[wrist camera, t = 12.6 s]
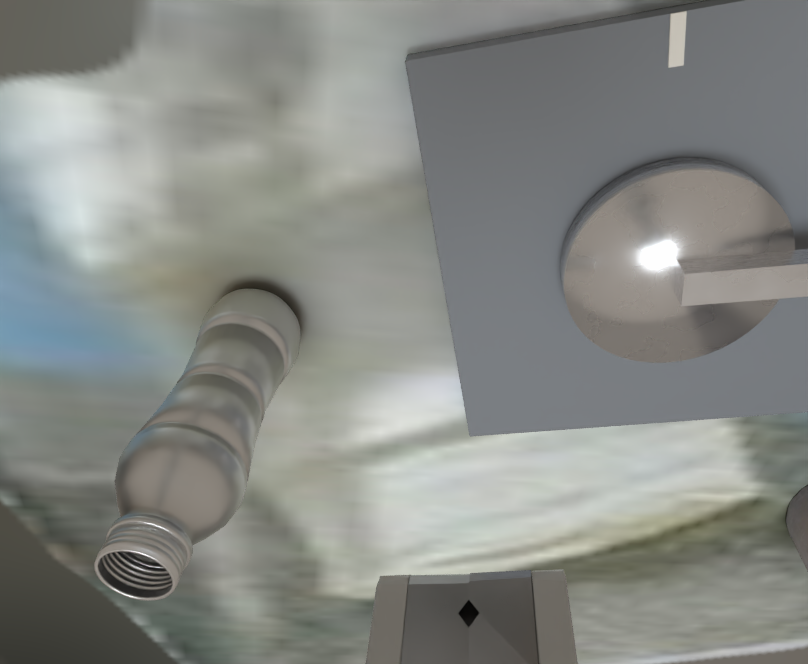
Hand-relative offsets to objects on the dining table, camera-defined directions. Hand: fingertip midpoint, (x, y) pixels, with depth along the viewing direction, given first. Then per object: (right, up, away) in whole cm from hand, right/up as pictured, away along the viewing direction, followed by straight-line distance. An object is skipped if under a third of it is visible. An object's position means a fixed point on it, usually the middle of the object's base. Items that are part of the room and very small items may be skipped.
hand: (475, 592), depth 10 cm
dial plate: (+14, +9, +28) cm, 32 cm away
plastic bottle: (-11, +5, +33) cm, 36 cm away
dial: (+17, +9, +26) cm, 32 cm away
